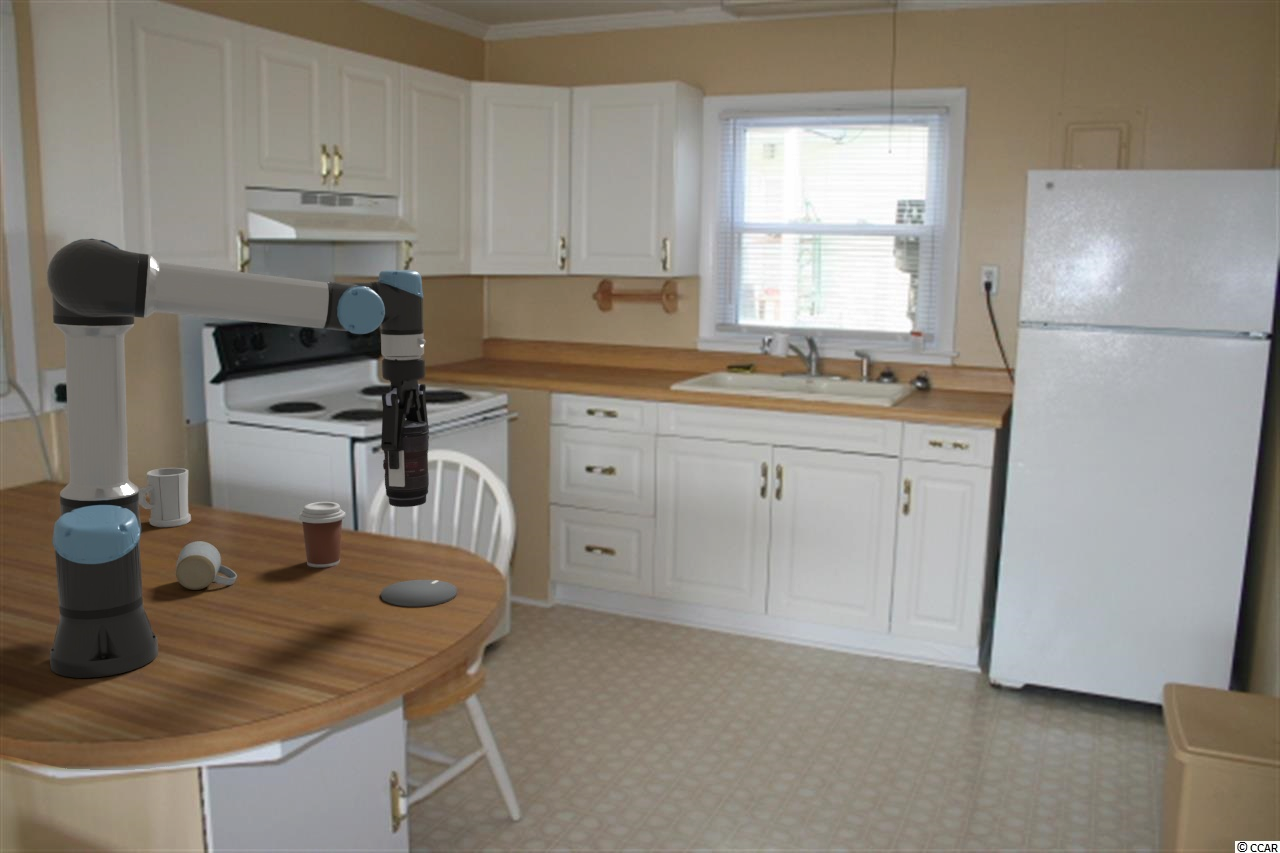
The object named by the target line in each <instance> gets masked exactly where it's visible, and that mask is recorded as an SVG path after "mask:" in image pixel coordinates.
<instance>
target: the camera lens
mask: <svg viewBox="0 0 1280 853" xmlns="http://www.w3.org/2000/svg"><path fill="white" fill-rule="evenodd" d="M428 436H429V434H428V429H427V423H426V422H423V421H419V423H417V422H413V421H408V420H406V419H405V426H404V427H403V440H402V447H401V450H404V472H405V486H404V487H397V486H389V467H388V451H383V454H384V459H383V461H382V462H383V463H382V468H383V470H384V487H385V495H386V496H387V497H388V504H389V505H390V506H391V507H397V508H398V507H399V508H400V507H401V508H410V507H411V508H412V507H418V506H422V505H424V504H426V503H427V495H428V494H429V483H430V481H429V480H430V479H429V477H430V476H429V474H430V473H429V456H428V455H429V440H428Z"/></svg>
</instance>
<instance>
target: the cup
mask: <svg viewBox="0 0 1280 853" xmlns="http://www.w3.org/2000/svg"><path fill="white" fill-rule="evenodd" d="M189 472H190V471H189V469H186V468H182V467H180V468H179V467H168V468H167V467H165V468H158V469H157V468H156V469H152V470H149V471H147V472H146V479H147V485H145V486H142V487H139V488H138V489H139V507H140V506H141V507H142V508H143V509H146V510H150V516H149V518H148V519H149V525H151V526H153V527H155V528H173V527H181V526H184V525H187V524H189V522H191V521H192V516H191V513H189ZM147 494H149V495H148V496H149V501H150V502H148V501H147V499H146V496H147Z"/></svg>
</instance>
